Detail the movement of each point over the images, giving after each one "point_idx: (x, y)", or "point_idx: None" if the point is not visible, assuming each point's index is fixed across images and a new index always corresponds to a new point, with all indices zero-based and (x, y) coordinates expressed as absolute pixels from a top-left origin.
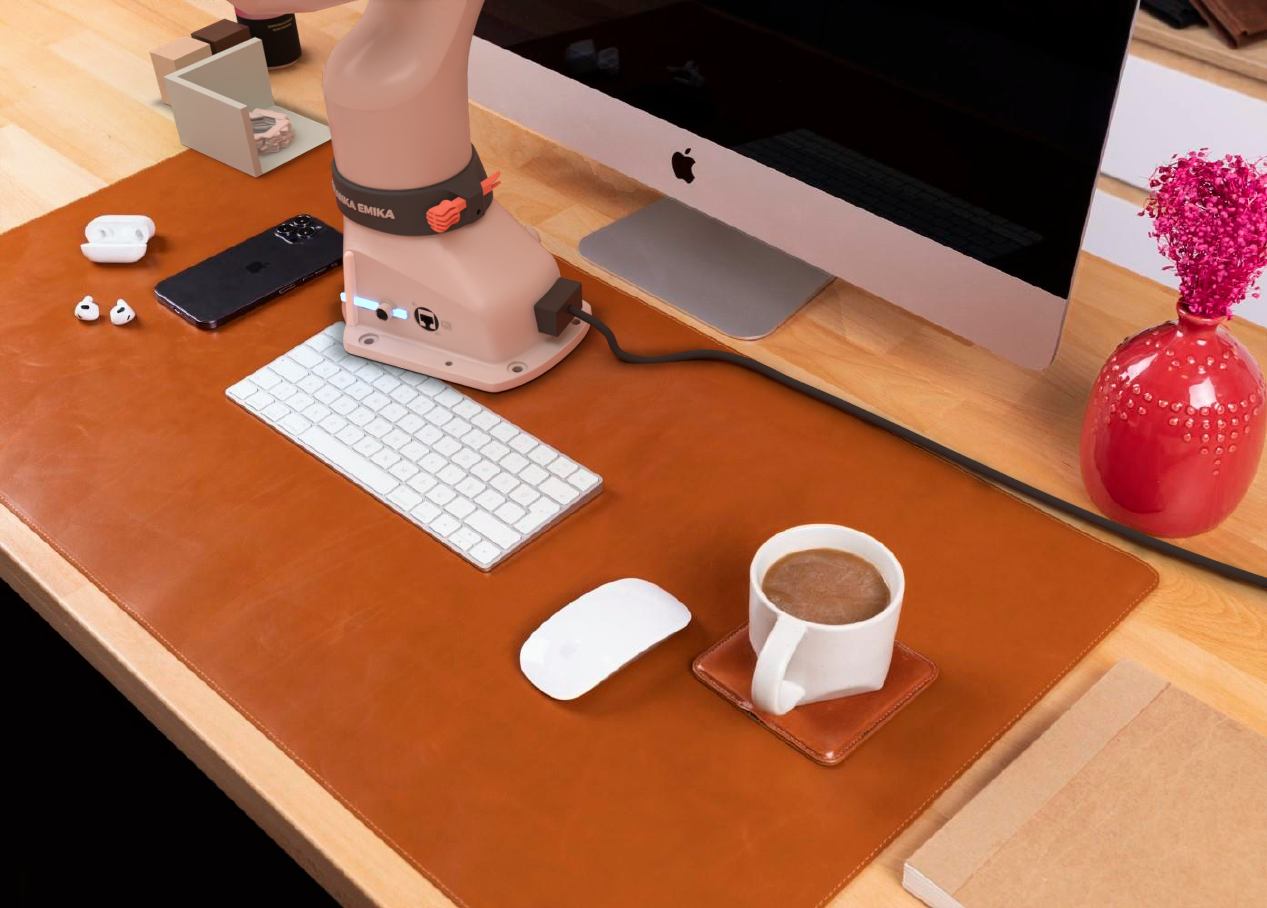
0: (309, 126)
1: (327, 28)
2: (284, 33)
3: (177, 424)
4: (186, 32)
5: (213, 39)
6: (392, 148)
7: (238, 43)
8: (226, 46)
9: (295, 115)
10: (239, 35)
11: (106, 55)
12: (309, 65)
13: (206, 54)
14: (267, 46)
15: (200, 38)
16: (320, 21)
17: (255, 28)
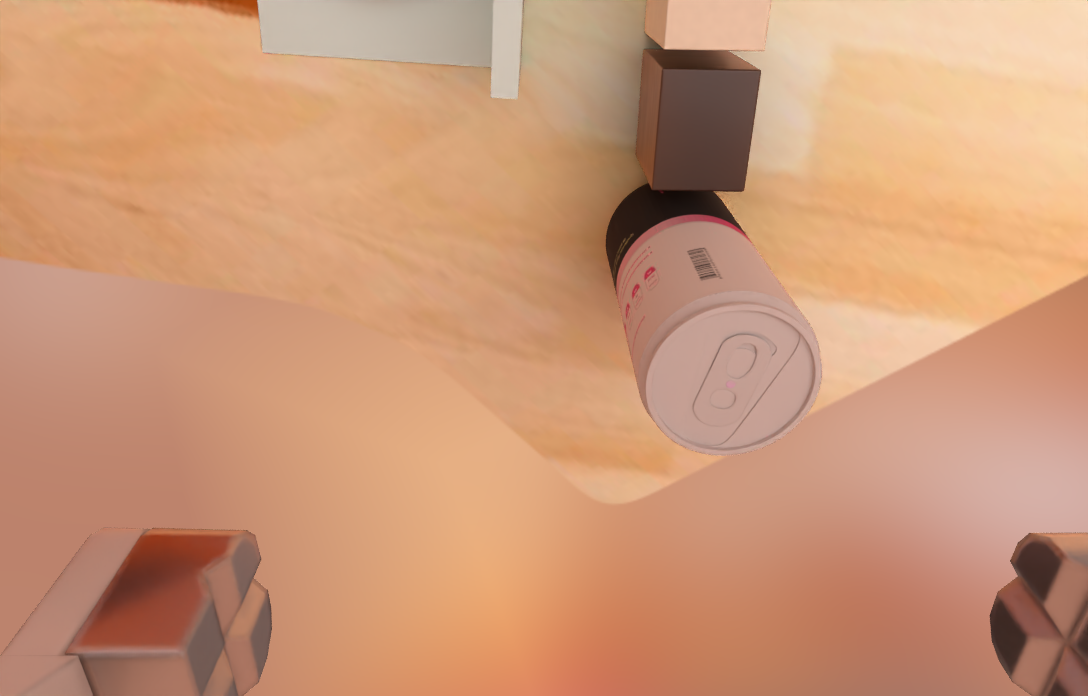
0: (348, 31)
1: None
2: (613, 256)
3: None
4: (948, 229)
5: (675, 76)
6: None
7: (650, 138)
8: (655, 99)
9: (417, 54)
10: (652, 151)
11: (1062, 28)
12: (579, 256)
13: (662, 26)
14: (634, 209)
15: (720, 68)
16: None
17: (658, 213)
